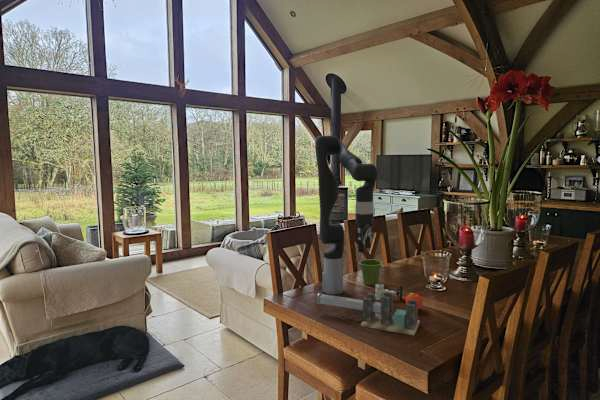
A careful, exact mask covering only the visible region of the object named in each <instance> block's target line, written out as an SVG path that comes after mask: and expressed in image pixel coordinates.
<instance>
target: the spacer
mask: <svg viewBox="0 0 600 400" xmlns="http://www.w3.org/2000/svg"><path fill="white" fill-rule="evenodd" d="M393 316H394V325H395V326H401V327H405V325H406V309H399V308H397V309H396V310H395V311H394V312H393Z"/></svg>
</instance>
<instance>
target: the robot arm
mask: <svg viewBox="0 0 600 400" xmlns="http://www.w3.org/2000/svg"><path fill="white" fill-rule="evenodd" d="M314 148H315V149H314V150H315V156H316V164H317V176H318V179H317V180H318V197H319V198H318V199H319V237H320V242H321V243H322V244H324V245H329V244H332V245H331V246H330V247H328V248H326V249H324V251H323V272H322V273H321V279H322V280H321V284H322V285H321V287H322V292H321V293H325V294H326V295H332V296H336V295H340V294H342V293H343V292H344V264H343V263H344V261H343V257H344V255H343V254H344V251H345V250H344V249H345V246H344V245H345V231H344V230H345V229H344V227H343V225H342V224H341V223H330V218H331V214H332V211H333V208H334V207H335V205H336V203H337V201H338V198H339V184H338V183H339V182H338V179H337V178H336V176H335V174H334V173H333V172H332V169H331V168H330V166H329V163H328V158H327V156H337V157H338V160H339V163H340V165H341V166H342V167H343V168H344V169H346V170H347V171H348V172H349V173H348V174H350V175H351V178H352V179H353V180H355V181H356V182H364V183H363V185H361V186H360V187H357V188H356V189H355V190H356V191H355V224H357V225H359V227H357V228H355V229H356V231H355V233H356V235H355V236H356V237H355V243H357V244H358V248H357V249H358V251H357V252H358V253H362V254H363V253H364V252H365V249H370V248H371V239H372V237H373V224H374V222H375V221H374V220H375V219H374V218H375V217H374V215H375V212H374V211H375V210H374V209H375V208H374V207H375V205H374V189H375V185H376V182H377V178H378V169H377V167H376V165H375V164H373V163H363V161H362V160H361V159H360V158H359V157H358V156H357V155H356V154H354V153H353V152H351V151H350V150H349V149H348V148H347V146H346V145H345V144H344V143H343V142H342V141H341V140H340V138H339V137H338V136H336V135H318V136H317V137H316V138H315V142H314Z"/></svg>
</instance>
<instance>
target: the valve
mask: <svg viewBox="0 0 600 400" xmlns="http://www.w3.org/2000/svg"><path fill="white" fill-rule="evenodd" d="M374 287H375V289H374V290H375V291H374V294H375V300H377V301H381V297H382V296H384V293H385V292H390V293H393V296H394V295H395V296H396V298H398V299H399V301H403V285H399V288H398V289H397V290H395V291H394V290H389V289H388V288H386V289H385V285H384V284H382V283H378V284H376V285H374Z"/></svg>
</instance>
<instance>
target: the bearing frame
mask: <svg viewBox="0 0 600 400" xmlns="http://www.w3.org/2000/svg"><path fill="white" fill-rule="evenodd" d="M375 295H376V294H375V293H372V292H371V293H369V292H367V294H366V297H363V298H362V300H363V310H362V322H361V323H360V326H361V327H363V328H364V327H366V328H371V329H375V330H381V331H386V332H393V333H398V334H405V335H409V336H415V334H416V333H417V330H418V328H419V326H420V322H421V321H420V320H419V319H418V312H419V311H418V310H419V309H418V300H413V299H409V304H406V303H405V311H406V325H405V327H401V326H395V325H394V307H393V306H394V303H393V302H394V299H393V298H394V295H393V293H390V292H385V293H384V295H383V296H382V297H381V300H380V303H381V313H376V312H372V302H376V299H375Z"/></svg>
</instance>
